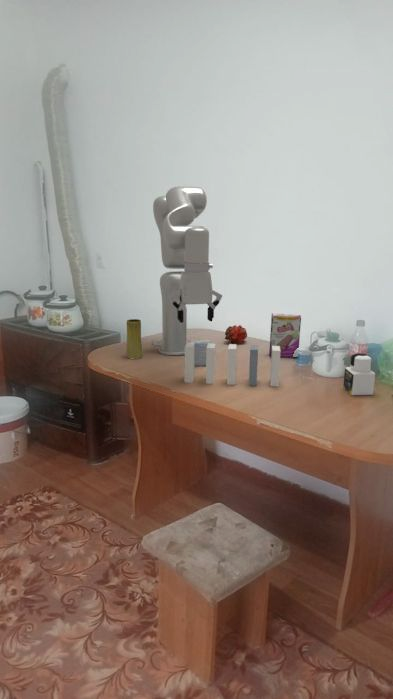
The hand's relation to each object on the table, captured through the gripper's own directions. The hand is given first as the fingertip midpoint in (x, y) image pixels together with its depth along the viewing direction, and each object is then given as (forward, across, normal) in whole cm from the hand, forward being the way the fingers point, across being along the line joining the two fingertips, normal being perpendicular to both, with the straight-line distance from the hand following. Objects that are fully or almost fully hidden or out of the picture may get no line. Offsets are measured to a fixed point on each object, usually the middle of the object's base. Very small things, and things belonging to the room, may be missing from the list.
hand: (195, 321), depth 167 cm
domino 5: (+20, -24, +10) cm, 33 cm away
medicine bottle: (+20, -47, +24) cm, 56 cm away
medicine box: (+20, -7, -16) cm, 27 cm away
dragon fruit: (+21, -31, -43) cm, 57 cm away
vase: (+20, +15, -32) cm, 41 cm away
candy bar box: (+20, -42, -20) cm, 50 cm away
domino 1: (+20, +2, 0) cm, 20 cm away
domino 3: (+20, -11, +5) cm, 23 cm away
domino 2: (+20, -5, +2) cm, 21 cm away
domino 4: (+20, -18, +8) cm, 28 cm away
